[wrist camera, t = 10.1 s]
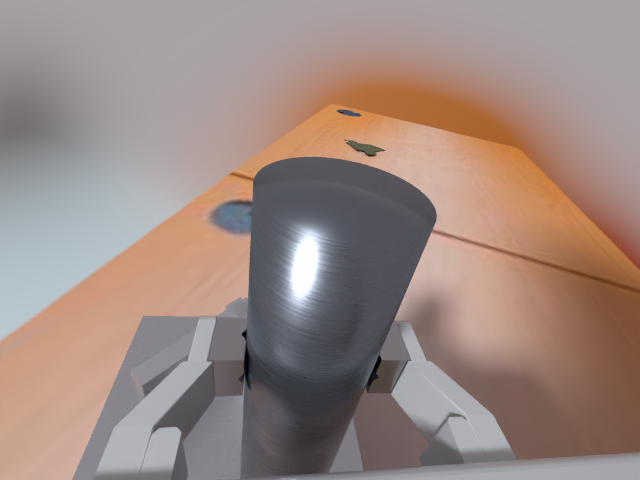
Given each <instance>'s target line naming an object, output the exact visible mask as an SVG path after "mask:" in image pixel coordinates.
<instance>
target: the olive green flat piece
mask: <svg viewBox="0 0 640 480" xmlns="http://www.w3.org/2000/svg"><path fill="white" fill-rule="evenodd" d="M346 141H347V140H346ZM349 142H350V143H348V142H346V143H348V144H350V145H351V146H352V147H354V148H355V149H357V150H363V151H364V152H365V153H366V154H371V155H374V154H376V153H375V152H376V151H384V150H383V149H381V148H378V147H376V146H372V145H368V144H360V143H357V142H354V141H351V140H350V141H349Z"/></svg>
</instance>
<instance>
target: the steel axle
mask: <svg viewBox="0 0 640 480" xmlns="http://www.w3.org/2000/svg"><path fill="white" fill-rule="evenodd" d="M436 217H437V215H436V210H435V208H434V206H433V204H432V203H431V201H430V200H429V199H428V198H427V197H426V196H425V194H423V193H422V192H421V191H420V190H419V189H417V188H416V187H414V186H413V185H412V184H410V183H408V182H406V181H405V180H403V179H401V178H399V177H397V176H395V175H393V174H390V173H388V172H385V171H383V170H380V169H377V168H374V167H371V166H368V165H364V164H360V163H356V162H352V161H346V160H341V159H334V158H324V157H299V158H290V159H285V160H280V161H277V162H274V163H271V164H269V165H267V166H265V167H264V168H262V169H261V170H260V171H259V172H258V173H257V174H256V176H255V178H254V181H253V202H252V224H251V246H250V268H249V291H248V313H247V335H246V357H245V380H244V402H243V424H242V446H241V468H240V479H241V478H256V477H271V476H286V475H301V474H316V473H329V471H330V469H331V466H332V464H333V462H334V459H335V457H336V455H337V452H338V450H339V448H340V445H341V443H342V441H343V438H344V436H345V434H346V431H347V429H348V427H349V424H350V422H351V420H352V417H353V415H354V412H355V410H356V408H357V405H358V403H359V401H360V398H361V396H362V394H363V391H364V389H365V387H366V384H367V382H368V380H369V377H370V375H371V373H372V370H373V368H374V366H375V363H376V361H377V359H378V356H379V354H380V351H381V349H382V347H383V344H384V342H385V340H386V337H387V335H388V333H389V330H390V328H391V326H392V323H393V321H394V319H395V316H396V314H397V312H398V309H399V307H400V305H401V302H402V300H403V297H404V295H405V293H406V290H407V288H408V286H409V283H410V281H411V279H412V276H413V274H414V272H415V269H416V267H417V265H418V262H419V260H420V258H421V255H422V253H423V251H424V248H425V246H426V243H427V241H428V239H429V236H430V234H431V232H432V229H433V227H434V225H435V222H436Z"/></svg>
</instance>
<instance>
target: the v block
mask: <svg viewBox="0 0 640 480" xmlns="http://www.w3.org/2000/svg"><path fill="white" fill-rule="evenodd" d="M247 313H248V299H247V298H244V299H241V298H238V299H237V300H235V301H233V302H232V303H230V304H228V305H227V306H226V310H225V311H224V312H222V313H221V314H219V315H218V316H216V317H234V318H247ZM199 319H200V317H176V316H143V317H142V320H141V322H140V324H139V327H138V329H137V331H136V334H135V336H134V338H133V340H132V343H131V345H130V347H129V350H128V352H127V354H126V357H125V359H124V361H123V364H122V366H121V368H120V371H119V373H118V375H117V378H116V380H115V382H114V384H113V387H112V389H111V391H110V394H109V396H108V398H107V401H106V403H105V405H104V408H103V410H102V412H101V415H100V417H99V419H98V422H97V424H96V426H95V428H94V431H93V433H92V435H91V438H90V440H89V442H88V445H87V447H86V449H85V452H84V454H83V456H82V459H81V461H80V463H79V465H78V468H77V470H76V472H75V475H74V477H73V479H72V480H93V478H94V476H95V473H96V471H97V468H98V466H99V463H100V461H101V458H102V456H103V453H104V451H105V449H106V446H107V444H108V441H109V439H110V436H111V434H112V431H113V429H114V427H115V426H116V425H117V424H118V423H119V422H120V421H121V420H122V419H123V418H125V417H126V416H127V415H128V414H129V413H130V412H131V411H132V410H133V409H134V408H135V407H136V406H137V405H138V404H139V403H140V402H141V401H142V400H143V399H144V398H145V397H146V396H147V395H148V394H149V393H150V392H151V391H153V390H154V389H155V388H156V387H157V386H158V385H159V384H160V383H161V382H162V381H163V380H164V379H165V378H166V377H167V376H168V375H169V374H170V373H171V372H172V371H173V370H174V369H175V368H176V367H177V366H178V365H180V364H181V363H182V362H183V361H188V358H189V355H190V351H191V347H192V343H193V340H194V336H195V332H196V328H197V325H198V321H199ZM244 380H245V376H244ZM243 402H244V386H243V396H223V397H215V399H214V400H213V402H212V403H211V404H210V406H209V407H208V408H207V410H206V411H205V413H204V414H203V415H202V417H201V418H200V419H199V421H198V422H197V423H196V425H195V426H194V428H193V429H192V430H191V432H190V433H189V434H188V436H187V437H186V438H185V440H184V441H183V445H184V451H185V457H186V462H187V468H188V476H187V480H227V479H240V468H241V446H242V424H243ZM361 470H364V469H363V464H362V459H361V454H360V449H359V444H358V440H357V435H356V430H355V425H354V420H353V417H352V420H351V422H350V424H349V427H348V429H347V431H346V434H345V436H344V438H343V441H342V443H341V445H340V448H339V450H338V452H337V455H336V457H335V459H334V462H333V464H332V466H331V469H330V471H329V473H331V472H346V471H361Z"/></svg>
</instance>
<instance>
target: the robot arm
mask: <svg viewBox="0 0 640 480" xmlns="http://www.w3.org/2000/svg"><path fill="white" fill-rule="evenodd" d="M246 335H247V318H234V317H208V316H201V317H200V319H199V321H198V325H197V328H196V332H195V336H194V340H193V343H192V347H191V351H190V355H189V358H188V361H183V362H182V363H181V364H180V365H178V366H177V367H176V368H175V369H174V370H173V371H172V372H171V373H170V374H169V375H168V376H167V377H166V378H165V379H164V380H163V381H162V382H161V383H160V384H159V385H158V386H157V387H156V388H155V389H154V390H153V391H151V392H150V393H149V394H148V395H147V396H146V397H145V398H144V399H143V400H142V401H141V402H140V403H139V404H138V405H137V406H136V407H135V408H134V409H133V410H132V411H131V412H130V413H129V414H128V415H127V416H126V417H125V418H123V419H122V420H121V421H120V422H119V423H118V424H117V425H116V426H115V427H114V429H113V431H112V434H111V436H110V439H109V441H108V444H107V446H106V449H105V451H104V453H103V456H102V458H101V461H100V463H99V466H98V468H97V471H96V473H95V476H94V478H93V480H187V476H188V468H187V462H186V457H185V451H184V445H183V441H184V440H185V438H186V437H187V436H188V434H189V433H190V432H191V430H192V429H193V428H194V426H195V425H196V423H197V422H198V421H199V419H200V418H201V417H202V415H203V414H204V413H205V411H206V410H207V408H208V407H209V406H210V404H211V403H212V402H213V400H214V399H215V397H223V396H243V386H244V376H245V357H246ZM366 389H367V393H391V395H392V396H393V398H394V399H395V400H396V401H397V402H398V404H399V405H400V406H401V407H402V409H403V410H404V411H405V412H406V414H407V415H408V416H409V417H410V419H411V420H412V421H413V422H414V423H415V425H416V426H417V427H418V428H419V430H420V431H421V432H422V433H423V435H424V436H425V437H426V438H427V440H428V441H429V442H430V443H429V445H428V446H427V447H426V449H425V450H424V451H423V453H422V454H421V456H420V460H421V463H422V466H421V467H406V468H391V469H376V470H361V471H346V472H331V473H316V474H301V475H286V476H271V477H256V478H241V479H227V480H640V452H630V453H615V454H600V455H585V456H570V457H555V458H540V459H525V460H517V458H516V456H515V454H514V452H513V451H512V449H511V447H510V445H509V443H508V441H507V440H506V438H505V436H504V434H503V432H502V430H501V429H500V427H499V425H498V423H497V421H496V419H495V418H494V416H493V414H492V413H490V412H489V411H488V410H487V409H486V408H485V407H484V406H482V405H481V404H480V403H479V402H478V401H477V400H475V399H474V398H473V397H472V396H471V395H470V394H469V393H467V392H466V391H465V390H464V389H463V388H462V387H460V386H459V385H458V384H457V383H456V382H455V381H454V380H452V379H451V378H450V377H449V376H448V375H447V374H445V373H444V372H443V371H442V370H441V369H440V368H439V367H437V366H436V365H435V364H434V363H433V362H432V361H427V359H426V357H425V355H424V353H423V350H422V348H421V346H420V344H419V342H418V339H417V337H416V335H415V333H414V330H413V328H412V326H411V324H410V323H409V322H408V321H393V323H392V326H391V328H390V330H389V333H388V335H387V337H386V340H385V342H384V344H383V347H382V349H381V351H380V354H379V356H378V359H377V361H376V363H375V366H374V368H373V370H372V373H371V375H370V377H369V380H368V382H367V384H366Z"/></svg>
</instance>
